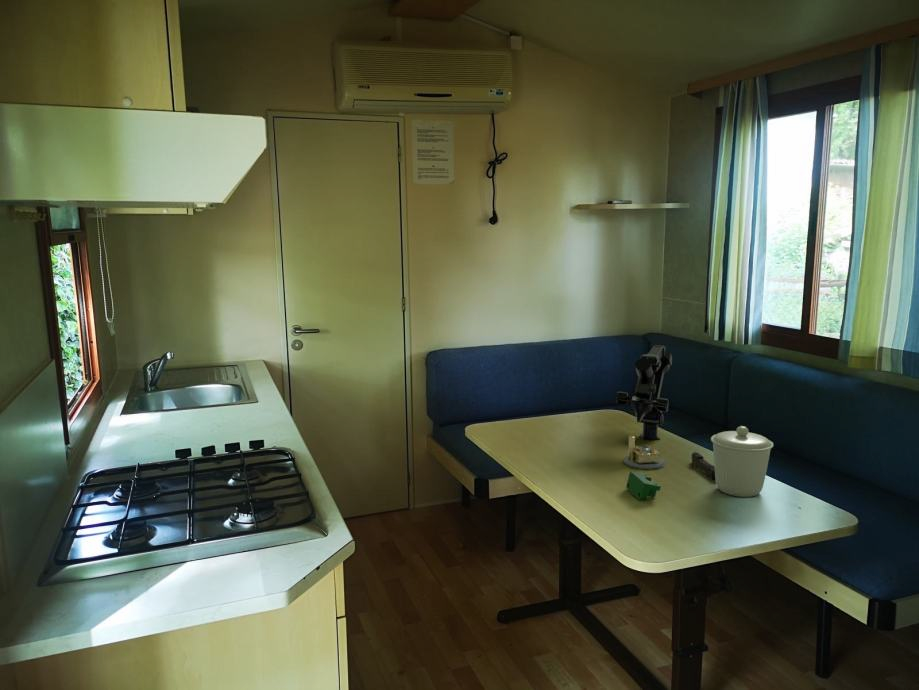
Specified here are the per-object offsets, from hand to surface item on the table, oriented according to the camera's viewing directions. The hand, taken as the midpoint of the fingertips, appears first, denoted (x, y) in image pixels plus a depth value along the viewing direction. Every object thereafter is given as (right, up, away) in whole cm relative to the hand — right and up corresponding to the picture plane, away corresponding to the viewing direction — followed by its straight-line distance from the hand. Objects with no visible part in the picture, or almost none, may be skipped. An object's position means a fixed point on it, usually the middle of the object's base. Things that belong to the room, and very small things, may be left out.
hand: (638, 421), depth 255 cm
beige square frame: (-1, -12, -8) cm, 15 cm away
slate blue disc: (0, -14, -8) cm, 16 cm away
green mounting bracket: (-8, -19, -37) cm, 43 cm away
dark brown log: (+18, -16, -16) cm, 29 cm away
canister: (+23, -18, -35) cm, 45 cm away
